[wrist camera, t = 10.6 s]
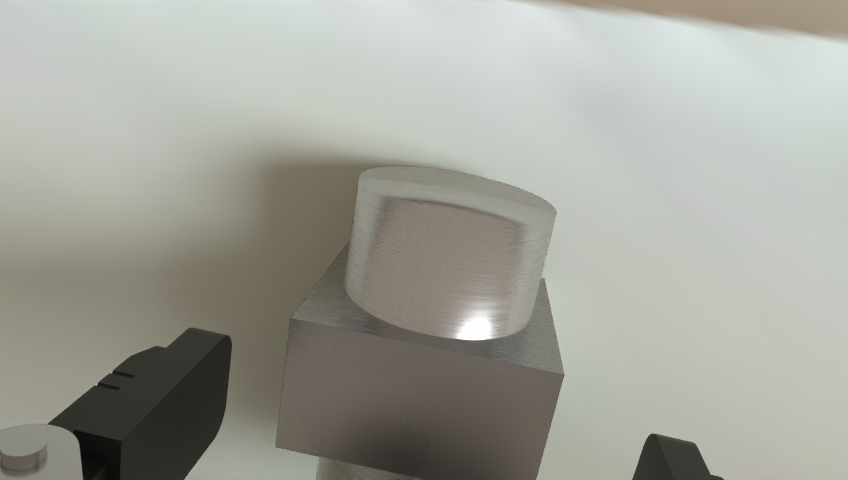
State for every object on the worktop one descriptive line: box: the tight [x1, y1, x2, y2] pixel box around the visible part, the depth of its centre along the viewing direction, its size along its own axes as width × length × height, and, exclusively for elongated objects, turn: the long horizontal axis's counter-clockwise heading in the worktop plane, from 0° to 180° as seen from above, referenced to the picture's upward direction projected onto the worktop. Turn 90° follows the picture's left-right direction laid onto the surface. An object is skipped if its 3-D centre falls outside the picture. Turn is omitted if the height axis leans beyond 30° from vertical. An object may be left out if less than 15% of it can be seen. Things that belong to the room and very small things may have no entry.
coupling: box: [275, 166, 564, 480], centre depth 15 cm, size 5×8×5 cm
